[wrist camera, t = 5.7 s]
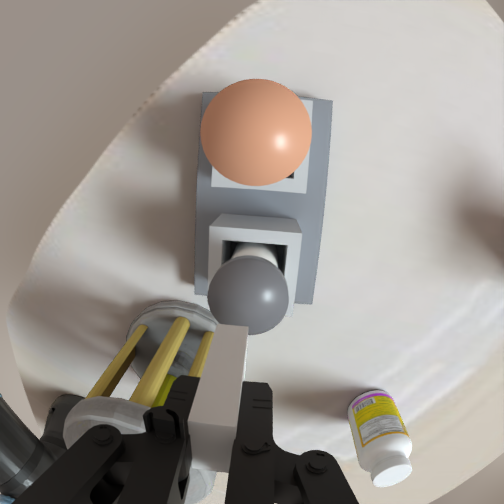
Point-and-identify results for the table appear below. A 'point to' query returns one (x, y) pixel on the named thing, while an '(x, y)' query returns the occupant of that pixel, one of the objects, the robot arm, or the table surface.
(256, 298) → the grey plug
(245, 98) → the terracotta plug
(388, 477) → the supplement bottle
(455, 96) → the table surface
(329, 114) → the double socket stand
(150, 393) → the lantern
